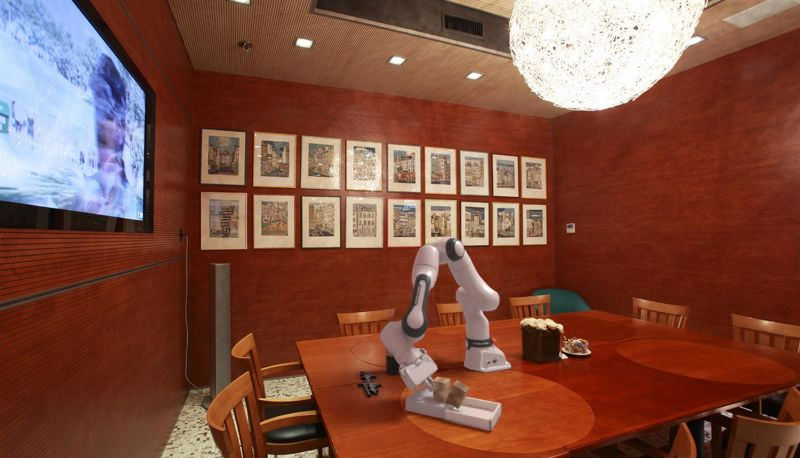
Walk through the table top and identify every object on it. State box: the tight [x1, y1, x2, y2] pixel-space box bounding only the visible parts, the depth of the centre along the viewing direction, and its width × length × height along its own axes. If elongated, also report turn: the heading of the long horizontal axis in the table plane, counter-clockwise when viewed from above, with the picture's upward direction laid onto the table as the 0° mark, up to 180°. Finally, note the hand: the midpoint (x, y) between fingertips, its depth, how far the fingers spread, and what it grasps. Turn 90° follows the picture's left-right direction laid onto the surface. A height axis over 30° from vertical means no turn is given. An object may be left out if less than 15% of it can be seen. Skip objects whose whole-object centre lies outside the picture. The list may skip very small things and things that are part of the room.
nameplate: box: [357, 370, 382, 399], centre depth 162 cm, size 28×2×10 cm
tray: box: [444, 396, 503, 432], centre depth 131 cm, size 16×14×4 cm
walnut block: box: [446, 379, 470, 409], centre depth 134 cm, size 5×4×7 cm
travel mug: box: [385, 347, 401, 376], centre depth 177 cm, size 8×8×20 cm
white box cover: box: [405, 387, 455, 420], centre depth 138 cm, size 16×12×4 cm
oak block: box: [433, 376, 451, 403], centre depth 137 cm, size 5×4×7 cm
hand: (433, 389), depth 138 cm, fingers closed, pressing on oak block
